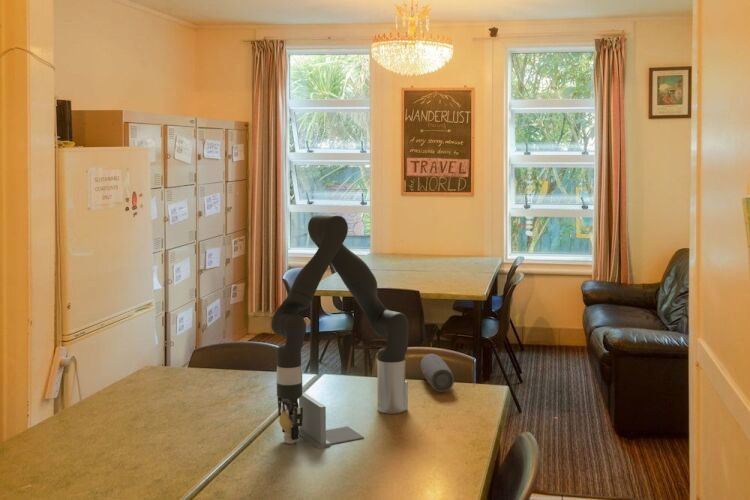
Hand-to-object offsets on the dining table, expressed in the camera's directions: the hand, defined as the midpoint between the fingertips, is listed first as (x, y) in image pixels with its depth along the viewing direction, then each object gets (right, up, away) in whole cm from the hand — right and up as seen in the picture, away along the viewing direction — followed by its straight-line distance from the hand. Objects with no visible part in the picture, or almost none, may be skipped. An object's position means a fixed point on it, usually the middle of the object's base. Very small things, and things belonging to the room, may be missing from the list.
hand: (290, 435), depth 234 cm
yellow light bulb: (0, -2, 0) cm, 2 cm away
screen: (+6, -2, +4) cm, 7 cm away
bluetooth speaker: (+47, +4, +57) cm, 75 cm away
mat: (+14, -1, +6) cm, 15 cm away
